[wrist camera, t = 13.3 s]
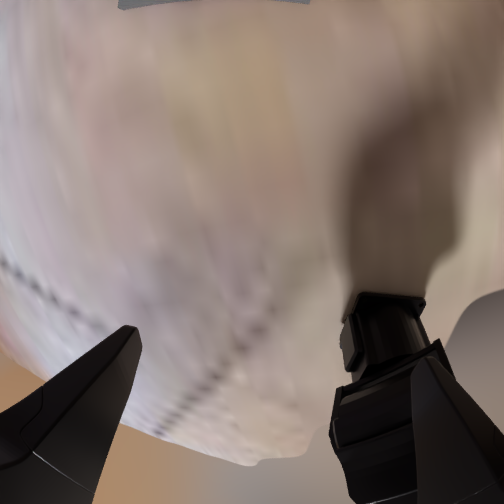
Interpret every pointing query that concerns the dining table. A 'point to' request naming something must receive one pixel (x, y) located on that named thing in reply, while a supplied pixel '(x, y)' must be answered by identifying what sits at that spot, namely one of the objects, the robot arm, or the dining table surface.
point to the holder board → (139, 0)
